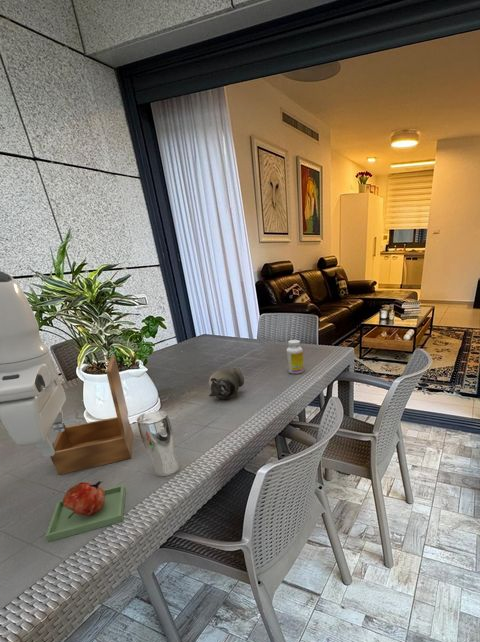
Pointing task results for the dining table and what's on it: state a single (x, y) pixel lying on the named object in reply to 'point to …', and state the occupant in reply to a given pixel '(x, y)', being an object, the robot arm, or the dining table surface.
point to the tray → (82, 523)
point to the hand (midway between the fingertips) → (56, 441)
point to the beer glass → (159, 441)
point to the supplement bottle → (295, 357)
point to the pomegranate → (84, 498)
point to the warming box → (91, 445)
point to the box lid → (117, 394)
